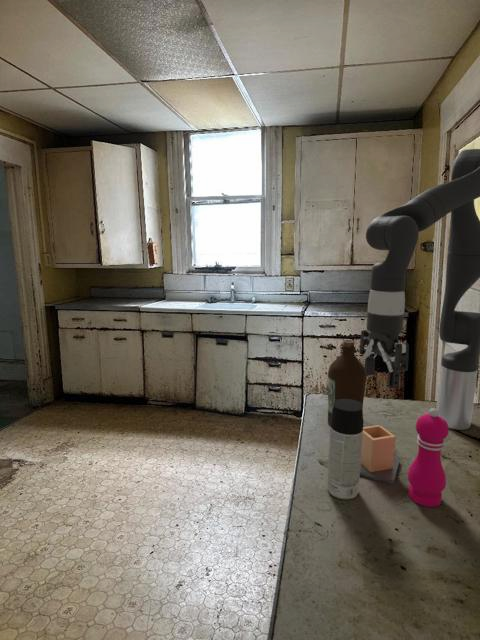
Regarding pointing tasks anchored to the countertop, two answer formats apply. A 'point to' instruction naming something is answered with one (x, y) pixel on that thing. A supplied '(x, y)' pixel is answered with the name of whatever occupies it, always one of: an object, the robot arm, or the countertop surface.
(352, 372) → the olive oil
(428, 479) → the pepper mill
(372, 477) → the flange
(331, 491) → the spray can
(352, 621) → the countertop surface
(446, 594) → the countertop surface
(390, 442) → the duct sleeve
